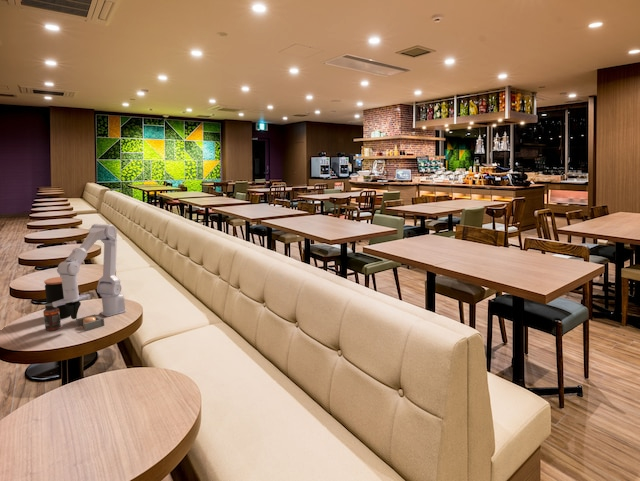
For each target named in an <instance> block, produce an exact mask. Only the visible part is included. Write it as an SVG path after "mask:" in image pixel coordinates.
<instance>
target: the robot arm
mask: <svg viewBox="0 0 640 481" xmlns="http://www.w3.org/2000/svg"><path fill="white" fill-rule="evenodd" d="M117 233H118V228H117V227H116V226H115V225H114V224H101V223H100V224H99V223H93V224H92V225H91V227H90V228H89V229H88V234H87V236H86V237H85V239H84V240H83V242H82V243H81V245H80V246H79V247H75V248H73V250H71V251H72V252H71V253H70V254H69V255H68V257H66V259H65V260H64V261H61V262H59V263H58V266H57V268H56V272H57V273H58V275H59V277H60V278H61V279H62V287H63V295H64V299H61V300H58V301H55V302H52V304H53V307H57V306H61V305H65V307H66V308H67V310H68V311H69V313H70V315H71V316H70V317H71V319H72V320H75V319H78V318H77V317H78V313H79V312H78V311H79V309H80V307H81V305H82V301H85V300H91V294H90V293H87V294H81V295H80V294H79V293H80V292H79V286H78V285H79V284H78V283H79V282H78V277H77V276H78V273H79V272H80V268H81V264H82V263H83V262H84V260H85V259H86V257H88V251H89V250H90V248H92V247H93V246H94V245H95V243H96V242H97V241H100V242H102V243H103V264H102V266H103V267H102V268H103V269H102V276H101V277H100V278H99V279H98V283H97V286H96V291H97V293H98V294H99V296H100V297H101V304H102V311H99V314H101V315H103V316H105V317H106V318H107V317H111V316H115V315H119V314H123V313H126V312H127V310H126V302H125V297H124V295H123V293H122V292H121V291H122V284H121V280H120V278H119V277H117V276H116V274H117V273H116V272H117V247H118V239H117V236H118V234H117Z"/></svg>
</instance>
